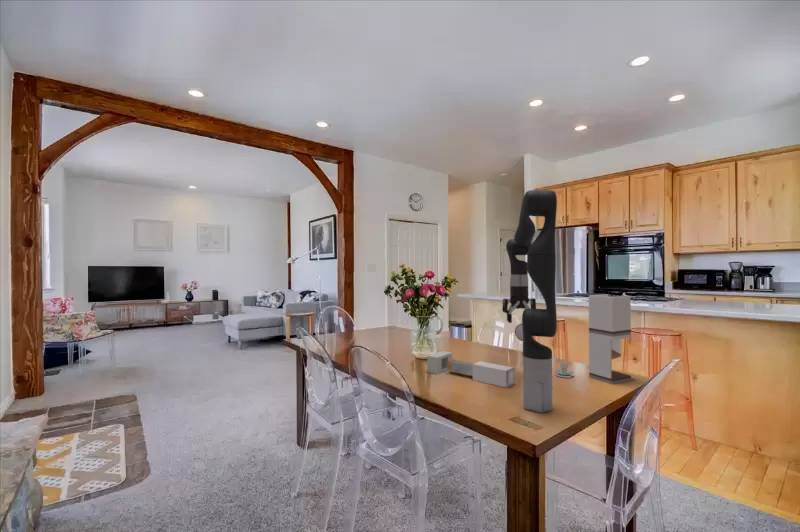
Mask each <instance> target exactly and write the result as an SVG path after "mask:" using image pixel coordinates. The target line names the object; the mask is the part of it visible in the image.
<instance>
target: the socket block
mask: <svg viewBox="0 0 800 532" xmlns="http://www.w3.org/2000/svg"><path fill="white" fill-rule="evenodd" d="M451 359H453V353H452V352H451V351H450V352H449V351H443V350H442V351H438V352H435V353H432V354H428V355H427V356H426V362H427V363H426V364H427V365H426V368H427V369H426V370H427V371H426V372H427V373H431V374H434V375H438V374H439V375H440V374H441V373H444V372H447V371H448V370H447V361H449V360H451Z"/></svg>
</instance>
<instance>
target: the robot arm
mask: <svg viewBox="0 0 800 532" xmlns="http://www.w3.org/2000/svg"><path fill="white" fill-rule="evenodd" d="M557 199H558V198H557V194H556V192H555V191H554V190H548V189H547V190H545V189H544V190H543V189H541V190H540V189H539V190H538V189H532V190H527V191H526V192H525V193H524V196H523V198H522V201H521V202H522V203H521V206H520V213H519V219H518V225H517V228H516V231H515V233H514V236H513V238H510V239H508V241H507V242H506V245H505V246H506V247H505V248H506V253H507V255H508V258H509V264H510V278H509V295H510V297H509V298H503V299H502V313H505V314H506V321H507V322H508V323H509V324H512V321H513V320H512V319H513V318H512V317H513V315H512V313H513V311H515V310H516V309H517V310H518V309H522V310H523V311H522V315H521V324H522V329H523V341H522V363H523V364H522V367H523V368H522V370H523V371H522V376H523V377H522V378H523V379H522V380H523V381H522V384H523V385H522V387H523V388H522V391H523V393H522V394H523V398H522V399H523V402H522V403H523V409H525V410H528V411H533V412H537V413H540V414H543V413H546V412H551V411H552V410H553V351H552V348H551V347H549V346H548V345H544V344H542V343H540V342H538V341H537V340H536V339H535V338H534V337H545V338H553V337H555V336H556V334H557V328H558V323H557V322H558V321H557V317H558V316H557V306H556V270H557V269H556V268H557V267H556V266H557V265H556V264H557V263H556V262H557V261H556V259H557V258H556V222H557V221H556V220H557V210H558V209H557V208H558V200H557ZM531 217H544V222H543V226H542V228H541V230H540V232H539V234H538V235H537V237H535V240H534V241H533V242H532V240H533V238H534V236H535V234H536V225H535V222H534V221H533V220H532V219H531ZM517 256H527V257H526V258H527V259H526V261H525V260H523V259H522V260H521V259H519V258H517ZM529 277H530V278H531V280H532V282H533V284H534V285H535V286H536V287H537V289H538V291H539V292H540V295H541V296H542V299H543V301H544V304H545V308H537V302H536V301H537V300H536V298H533V297H531V298H529ZM509 303H510V305H509ZM528 304H530V306H529V305H528Z"/></svg>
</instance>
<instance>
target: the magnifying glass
mask: <svg viewBox="0 0 800 532" xmlns="http://www.w3.org/2000/svg"><path fill="white" fill-rule="evenodd" d="M514 334H515V337H516V338H517V339H518V340H519V341H521V342H523V329H522V323H519V324H518V325H516V326H515V329H514Z"/></svg>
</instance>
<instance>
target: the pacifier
mask: <svg viewBox="0 0 800 532" xmlns="http://www.w3.org/2000/svg"><path fill="white" fill-rule="evenodd" d="M560 367H561V370H560V369H557V368H555V372H556V373H555V376H556V377H559V378H564V379H571V378H572V377H573V376H572V374H574V371H568V367H569V364H568V362H567V361H565V360H564V361H561V363H560Z"/></svg>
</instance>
